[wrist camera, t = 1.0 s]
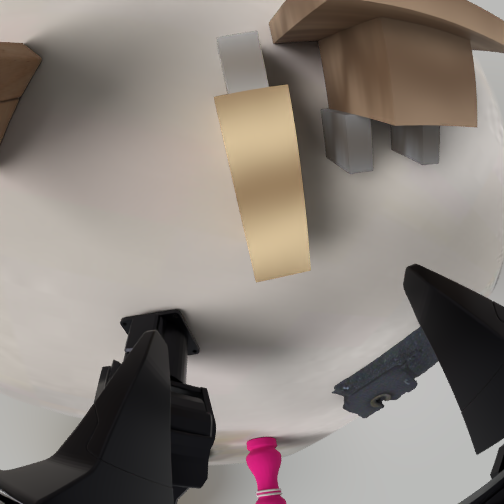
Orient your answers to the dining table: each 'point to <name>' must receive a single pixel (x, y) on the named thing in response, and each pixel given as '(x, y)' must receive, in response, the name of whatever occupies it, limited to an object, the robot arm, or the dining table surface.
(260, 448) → the pepper mill
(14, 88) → the wooden block
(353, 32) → the brown boxy piece
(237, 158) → the tan oblong piece
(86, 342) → the dining table surface
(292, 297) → the dining table surface
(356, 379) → the dark slate chunk
